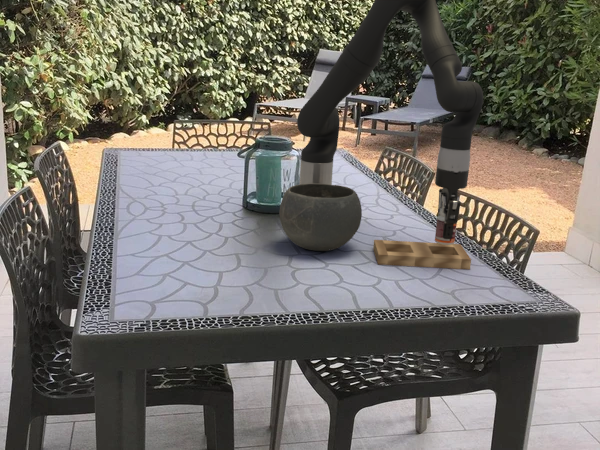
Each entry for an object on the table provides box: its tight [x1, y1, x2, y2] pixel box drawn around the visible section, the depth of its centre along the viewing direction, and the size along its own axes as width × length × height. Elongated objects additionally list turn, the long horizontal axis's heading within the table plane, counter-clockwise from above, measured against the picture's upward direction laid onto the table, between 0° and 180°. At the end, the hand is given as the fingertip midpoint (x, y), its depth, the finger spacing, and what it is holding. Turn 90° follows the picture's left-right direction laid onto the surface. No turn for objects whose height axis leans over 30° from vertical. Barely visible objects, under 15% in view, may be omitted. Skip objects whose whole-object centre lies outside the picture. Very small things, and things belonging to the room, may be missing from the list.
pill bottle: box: [434, 208, 458, 245], centre depth 169 cm, size 5×5×8 cm
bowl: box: [278, 183, 363, 252], centre depth 173 cm, size 20×20×15 cm
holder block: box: [372, 239, 472, 270], centre depth 170 cm, size 22×12×2 cm, turn 89°
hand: (445, 235), depth 169 cm, fingers closed on pill bottle, 4 cm apart
